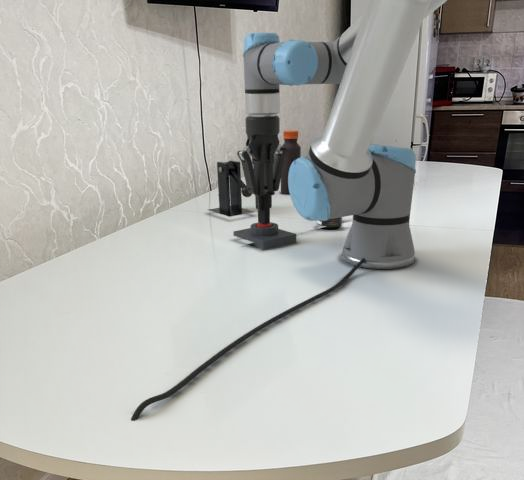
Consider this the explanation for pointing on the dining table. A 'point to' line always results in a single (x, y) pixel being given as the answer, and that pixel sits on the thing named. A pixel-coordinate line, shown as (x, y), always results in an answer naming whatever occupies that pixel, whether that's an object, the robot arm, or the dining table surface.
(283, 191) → the bottle
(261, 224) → the button
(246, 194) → the switch lever
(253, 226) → the dark grey base plate
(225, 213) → the lever switch
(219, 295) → the dining table surface
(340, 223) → the supplement container
